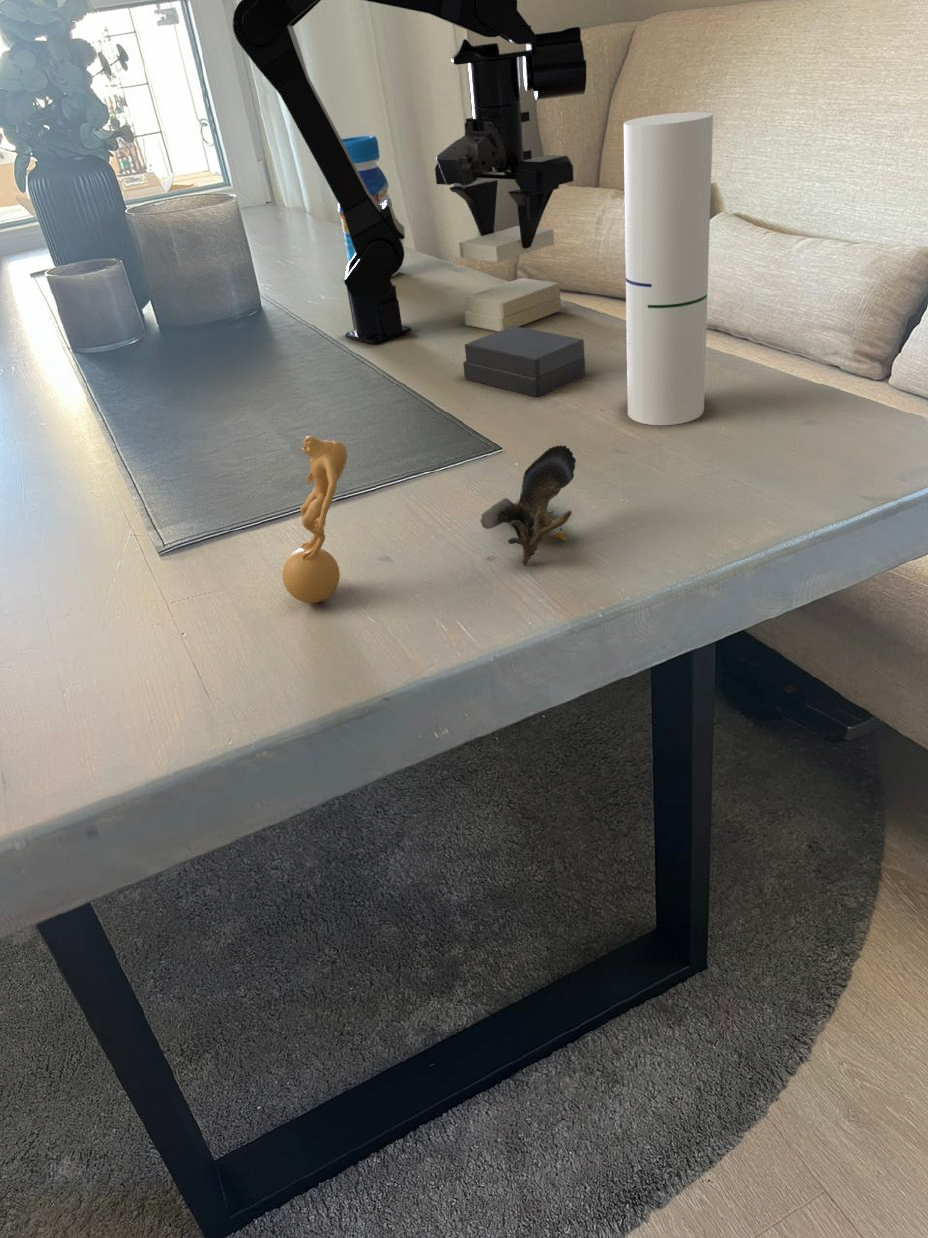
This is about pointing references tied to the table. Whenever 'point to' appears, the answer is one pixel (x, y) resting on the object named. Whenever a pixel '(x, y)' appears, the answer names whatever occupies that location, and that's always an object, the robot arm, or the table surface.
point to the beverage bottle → (365, 177)
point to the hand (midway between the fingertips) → (507, 245)
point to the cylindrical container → (667, 264)
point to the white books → (512, 304)
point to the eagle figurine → (535, 501)
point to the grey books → (525, 360)
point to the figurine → (316, 526)
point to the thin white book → (503, 244)
